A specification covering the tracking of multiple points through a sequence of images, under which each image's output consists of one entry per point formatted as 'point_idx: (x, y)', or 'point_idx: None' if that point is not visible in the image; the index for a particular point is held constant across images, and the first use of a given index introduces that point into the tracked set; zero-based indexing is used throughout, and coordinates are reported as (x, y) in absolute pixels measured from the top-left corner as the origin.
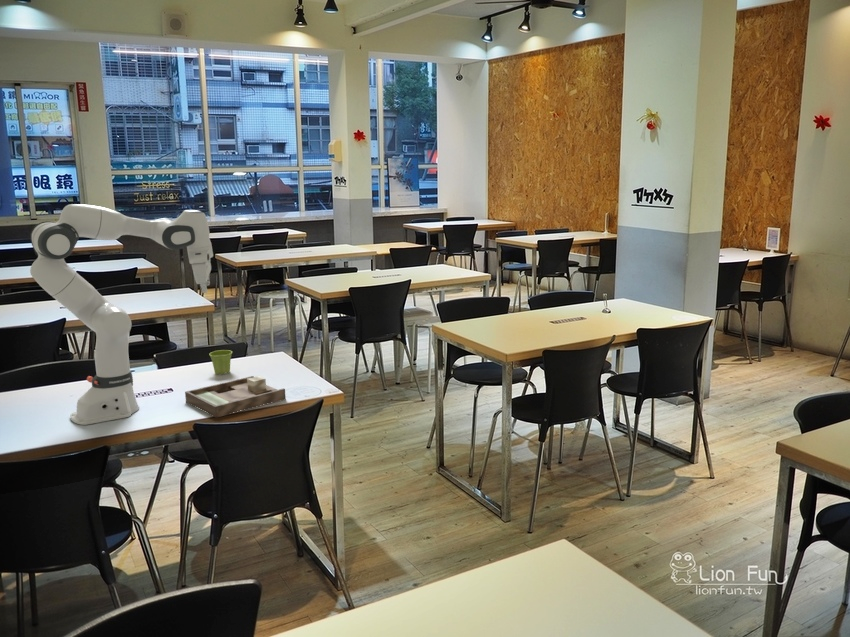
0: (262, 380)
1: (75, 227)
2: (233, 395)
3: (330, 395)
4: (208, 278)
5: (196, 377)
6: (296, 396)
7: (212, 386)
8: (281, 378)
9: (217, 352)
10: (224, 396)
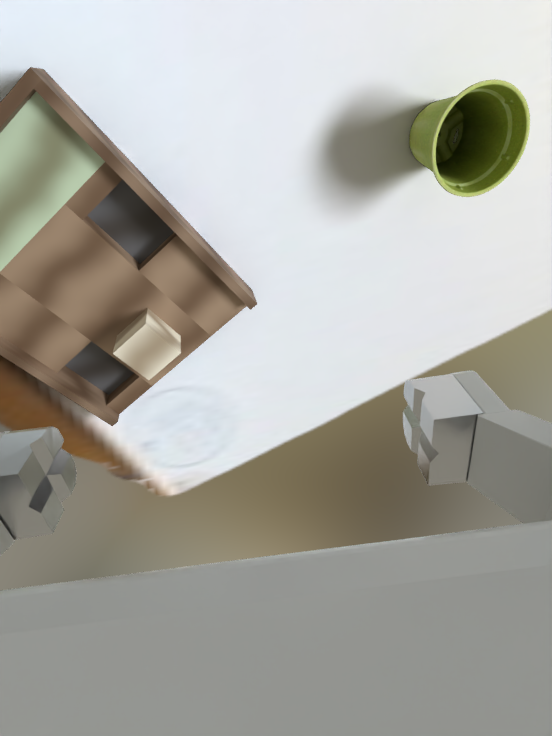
0: (140, 371)
1: None
2: (67, 279)
3: (155, 488)
4: (502, 497)
5: (397, 20)
6: (143, 425)
7: (127, 183)
8: (316, 353)
9: (519, 113)
10: (50, 250)
